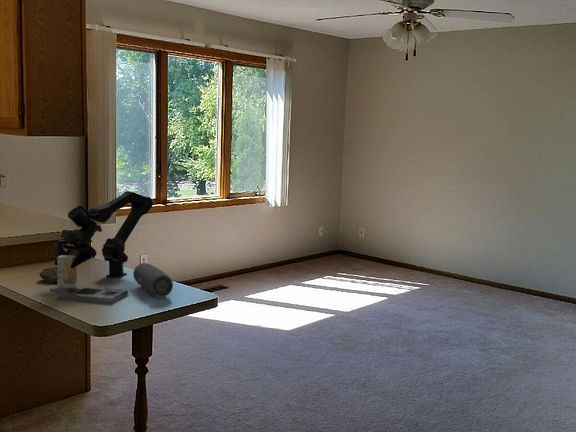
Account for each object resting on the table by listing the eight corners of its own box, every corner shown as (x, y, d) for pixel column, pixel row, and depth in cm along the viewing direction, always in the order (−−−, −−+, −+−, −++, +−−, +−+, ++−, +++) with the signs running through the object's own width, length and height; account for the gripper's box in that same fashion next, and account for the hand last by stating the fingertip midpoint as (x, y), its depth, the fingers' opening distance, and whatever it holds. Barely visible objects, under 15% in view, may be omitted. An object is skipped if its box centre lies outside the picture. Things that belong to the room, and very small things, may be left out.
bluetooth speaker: (131, 287, 242) (131, 262, 240) (154, 284, 246) (154, 260, 245) (149, 302, 222) (149, 275, 221) (174, 298, 227) (174, 272, 226)
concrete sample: (37, 280, 251) (37, 268, 250) (62, 276, 257) (61, 264, 257) (47, 285, 242) (47, 273, 242) (73, 282, 249) (72, 269, 248)
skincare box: (57, 288, 236) (55, 257, 235) (61, 285, 241) (60, 254, 239) (73, 288, 236) (72, 257, 234) (77, 285, 240) (76, 255, 239)
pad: (63, 284, 244) (63, 283, 244) (83, 286, 242) (83, 284, 242) (49, 290, 235) (49, 288, 235) (70, 292, 233) (70, 290, 233)
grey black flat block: (75, 290, 235) (75, 285, 235) (128, 295, 231) (127, 289, 230) (57, 299, 224) (57, 293, 224) (111, 303, 219) (111, 298, 219)
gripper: (57, 219, 243) (34, 251, 235) (89, 224, 233) (66, 257, 226) (74, 236, 251) (52, 267, 243) (106, 241, 241) (84, 274, 233)
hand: (63, 266), depth 236 cm, fingers open, 9 cm apart
